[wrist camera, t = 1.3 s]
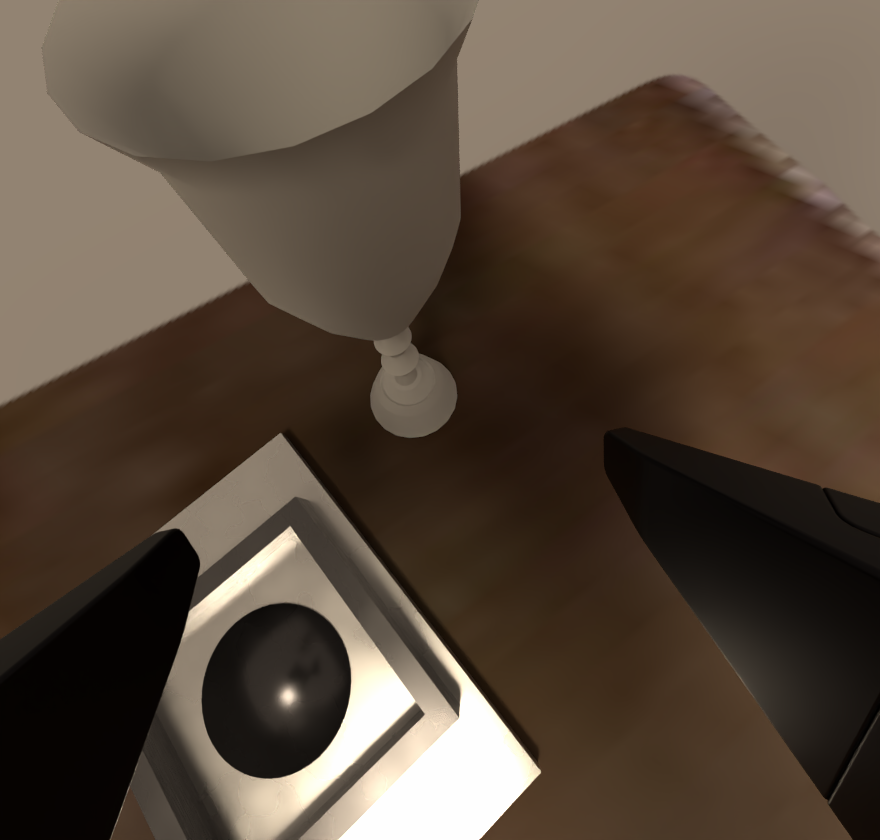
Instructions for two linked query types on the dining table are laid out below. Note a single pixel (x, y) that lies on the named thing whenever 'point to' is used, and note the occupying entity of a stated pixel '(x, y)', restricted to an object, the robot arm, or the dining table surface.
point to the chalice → (294, 151)
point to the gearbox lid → (314, 685)
